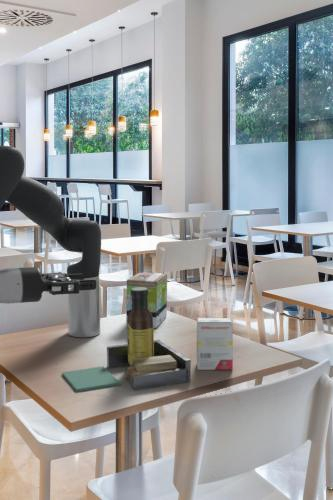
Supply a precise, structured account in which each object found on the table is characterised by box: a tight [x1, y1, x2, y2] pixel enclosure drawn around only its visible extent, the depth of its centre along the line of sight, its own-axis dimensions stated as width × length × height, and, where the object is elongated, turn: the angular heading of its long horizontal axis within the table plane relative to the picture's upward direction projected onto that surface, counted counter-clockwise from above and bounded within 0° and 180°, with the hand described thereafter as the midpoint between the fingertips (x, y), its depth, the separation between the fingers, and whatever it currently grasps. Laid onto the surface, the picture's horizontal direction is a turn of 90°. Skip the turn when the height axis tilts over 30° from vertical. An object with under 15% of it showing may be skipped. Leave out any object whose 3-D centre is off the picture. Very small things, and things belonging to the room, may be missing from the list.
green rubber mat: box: [61, 366, 121, 393], centre depth 136 cm, size 12×10×1 cm
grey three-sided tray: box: [106, 339, 192, 392], centre depth 140 cm, size 18×14×5 cm
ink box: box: [196, 317, 234, 371], centre depth 144 cm, size 9×5×12 cm, turn 88°
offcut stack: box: [125, 355, 177, 385], centre depth 136 cm, size 6×11×4 cm, turn 115°
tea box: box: [125, 272, 168, 329], centre depth 187 cm, size 15×10×15 cm, turn 168°
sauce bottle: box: [126, 287, 155, 367], centre depth 142 cm, size 6×6×20 cm
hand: (89, 281), depth 135 cm, fingers open, 8 cm apart
